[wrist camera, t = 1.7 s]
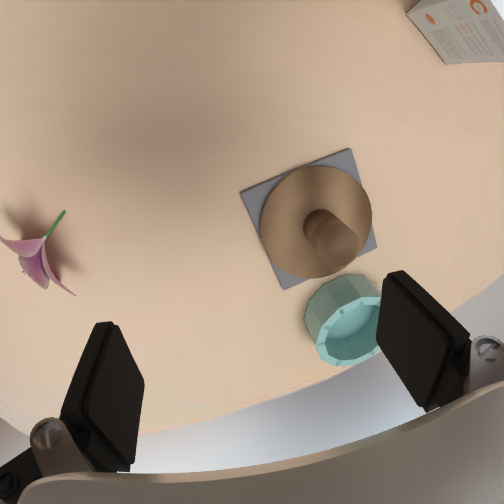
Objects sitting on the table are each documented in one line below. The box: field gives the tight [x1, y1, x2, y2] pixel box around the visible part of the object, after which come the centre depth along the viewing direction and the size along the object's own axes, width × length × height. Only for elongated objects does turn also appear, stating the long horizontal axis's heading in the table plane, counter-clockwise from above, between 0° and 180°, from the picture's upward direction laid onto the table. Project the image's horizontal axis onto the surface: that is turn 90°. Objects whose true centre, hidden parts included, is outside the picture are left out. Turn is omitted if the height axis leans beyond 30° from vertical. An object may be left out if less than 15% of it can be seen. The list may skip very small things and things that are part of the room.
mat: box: [240, 148, 377, 290], centre depth 31 cm, size 12×12×1 cm
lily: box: [0, 211, 76, 296], centre depth 25 cm, size 12×12×10 cm
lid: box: [260, 166, 372, 278], centre depth 28 cm, size 12×12×6 cm
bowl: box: [304, 275, 382, 366], centre depth 35 cm, size 10×10×5 cm
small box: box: [406, 0, 504, 65], centre depth 17 cm, size 8×6×13 cm
